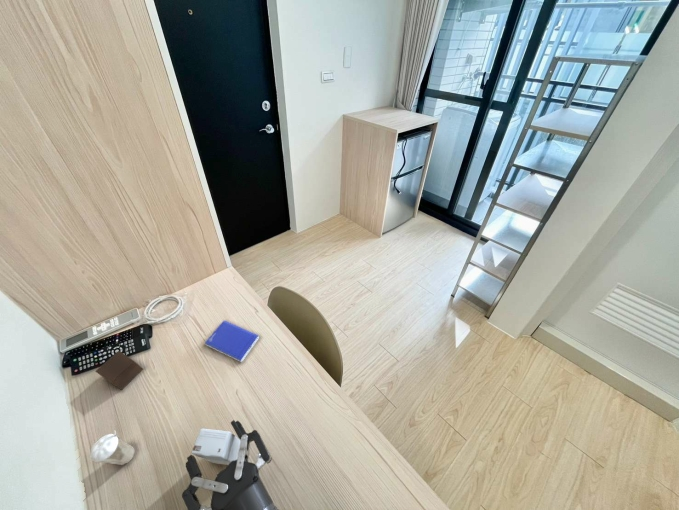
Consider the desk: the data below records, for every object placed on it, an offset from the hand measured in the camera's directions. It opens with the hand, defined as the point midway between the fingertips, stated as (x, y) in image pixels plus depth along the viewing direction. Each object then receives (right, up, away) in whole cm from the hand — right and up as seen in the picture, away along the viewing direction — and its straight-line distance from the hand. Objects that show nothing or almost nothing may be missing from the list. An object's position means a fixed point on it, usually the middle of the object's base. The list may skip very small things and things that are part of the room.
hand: (212, 438), depth 52 cm
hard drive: (-6, +11, +26) cm, 28 cm away
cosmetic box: (+1, -8, +7) cm, 10 cm away
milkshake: (-21, -8, +6) cm, 23 cm away
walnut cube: (-32, +5, +18) cm, 37 cm away
